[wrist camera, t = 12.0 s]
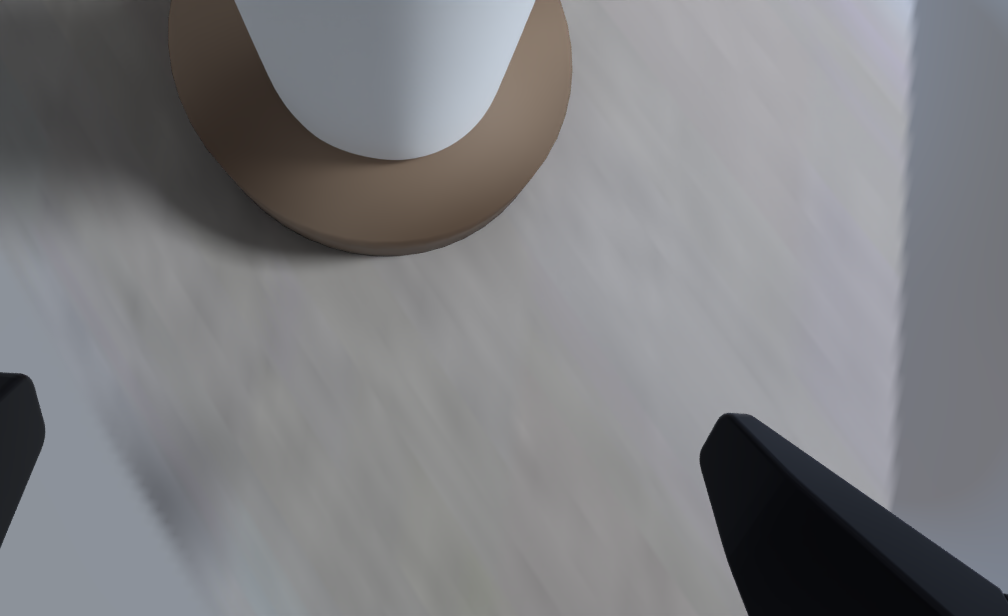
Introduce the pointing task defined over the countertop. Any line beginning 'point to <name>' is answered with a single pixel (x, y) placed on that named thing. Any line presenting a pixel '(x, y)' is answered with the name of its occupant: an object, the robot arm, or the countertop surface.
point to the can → (386, 67)
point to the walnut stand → (358, 179)
